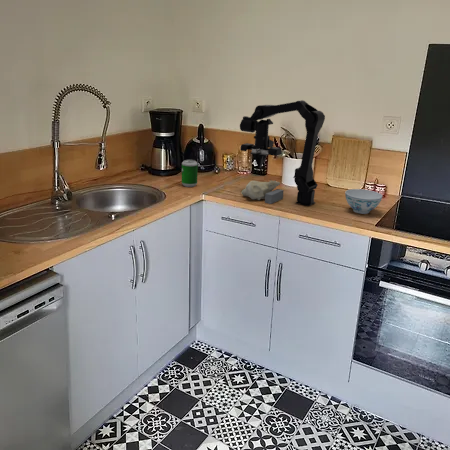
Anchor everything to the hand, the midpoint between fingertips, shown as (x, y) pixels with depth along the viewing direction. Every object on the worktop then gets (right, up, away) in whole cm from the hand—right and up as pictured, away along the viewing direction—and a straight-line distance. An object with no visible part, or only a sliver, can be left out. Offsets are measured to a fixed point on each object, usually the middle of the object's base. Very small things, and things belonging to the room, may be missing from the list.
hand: (259, 168), depth 211 cm
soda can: (-33, -7, +11) cm, 36 cm away
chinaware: (+42, -21, -17) cm, 49 cm away
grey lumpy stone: (0, -14, -4) cm, 15 cm away
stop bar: (+6, -15, -7) cm, 18 cm away
